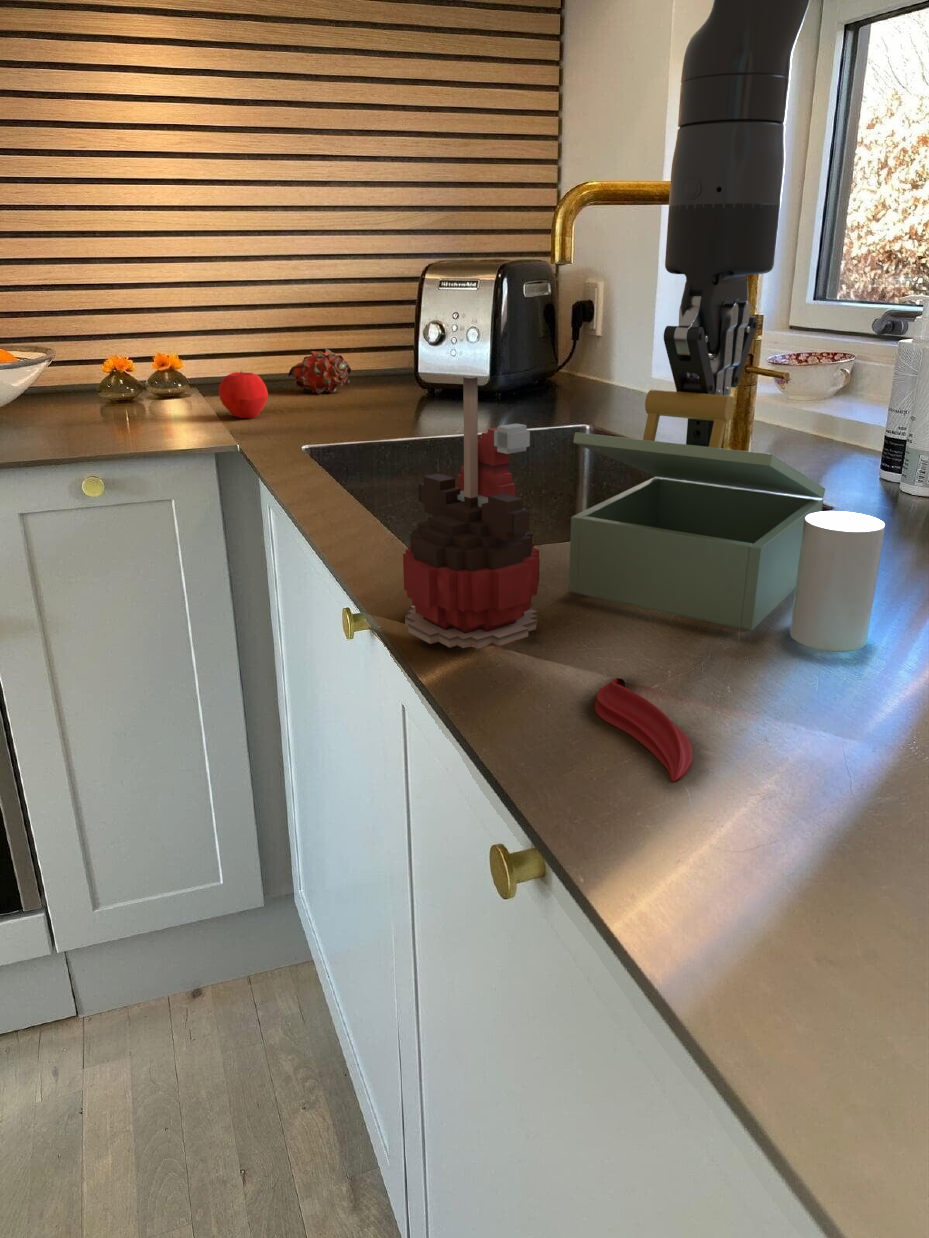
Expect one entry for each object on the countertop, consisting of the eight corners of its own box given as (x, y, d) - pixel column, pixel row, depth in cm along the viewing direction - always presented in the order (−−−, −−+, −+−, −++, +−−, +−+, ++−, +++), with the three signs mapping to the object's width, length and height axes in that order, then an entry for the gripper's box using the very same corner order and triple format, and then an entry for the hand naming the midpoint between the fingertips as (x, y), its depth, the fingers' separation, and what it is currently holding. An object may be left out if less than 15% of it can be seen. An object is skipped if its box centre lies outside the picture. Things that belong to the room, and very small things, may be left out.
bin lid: (770, 466, 62) (785, 392, 61) (572, 442, 69) (585, 377, 69) (823, 498, 75) (836, 438, 75) (654, 476, 83) (665, 421, 83)
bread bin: (750, 640, 66) (761, 548, 64) (567, 600, 74) (570, 516, 71) (812, 578, 78) (823, 498, 76) (649, 549, 86) (654, 476, 83)
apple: (212, 417, 154) (207, 371, 151) (256, 411, 159) (251, 366, 156) (233, 423, 148) (228, 375, 146) (278, 417, 153) (274, 371, 150)
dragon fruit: (357, 401, 178) (295, 411, 179) (357, 370, 183) (297, 379, 184) (345, 367, 171) (281, 378, 172) (345, 336, 175) (283, 346, 177)
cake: (377, 624, 70) (366, 375, 63) (476, 596, 75) (475, 364, 68) (466, 672, 62) (463, 393, 55) (569, 637, 67) (578, 379, 60)
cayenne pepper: (588, 682, 60) (590, 654, 59) (661, 682, 60) (663, 654, 59) (612, 781, 49) (614, 749, 48) (701, 782, 49) (704, 749, 48)
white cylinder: (872, 642, 66) (893, 517, 62) (855, 667, 62) (875, 536, 58) (800, 627, 68) (816, 507, 65) (778, 650, 64) (794, 524, 61)
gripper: (745, 195, 58) (719, 472, 64) (806, 202, 68) (779, 440, 74) (633, 199, 62) (619, 460, 68) (707, 205, 72) (689, 431, 78)
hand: (702, 449), depth 71 cm, fingers closed
